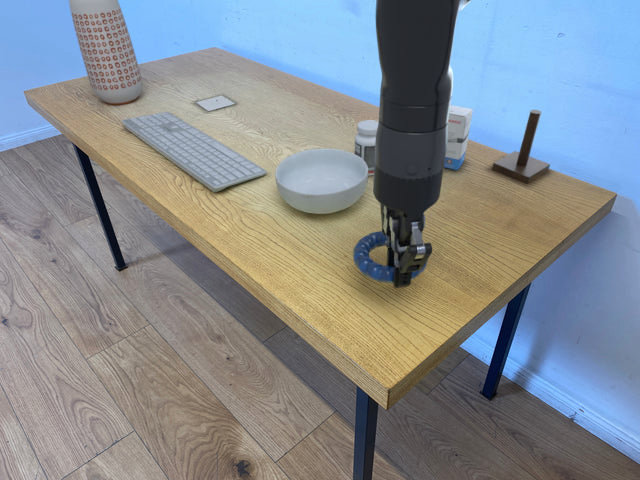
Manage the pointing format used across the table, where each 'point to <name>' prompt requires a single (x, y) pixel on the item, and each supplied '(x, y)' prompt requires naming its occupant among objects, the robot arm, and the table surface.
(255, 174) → the keyboard
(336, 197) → the cereal bowl
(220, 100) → the coaster
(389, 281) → the blue teething ring
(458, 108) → the ink box
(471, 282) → the table surface
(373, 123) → the pill bottle
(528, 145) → the stand
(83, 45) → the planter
